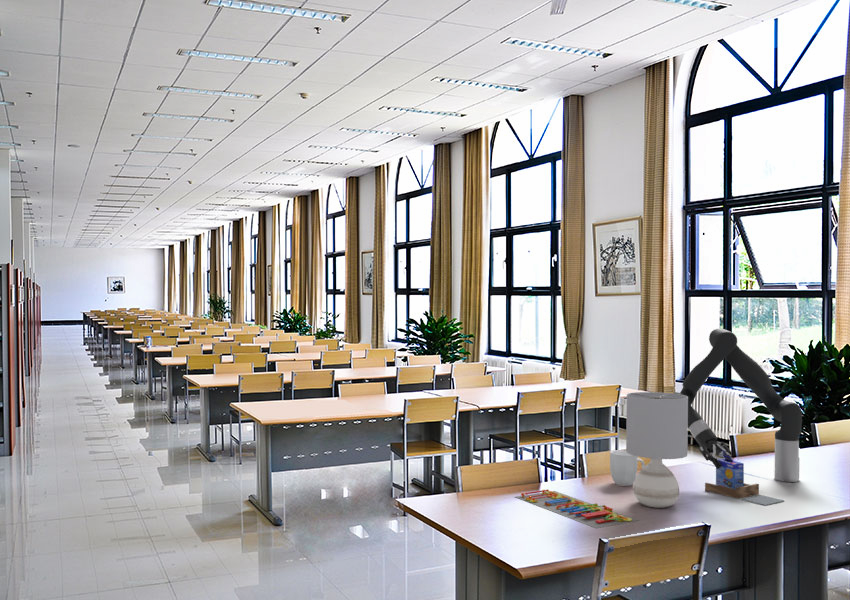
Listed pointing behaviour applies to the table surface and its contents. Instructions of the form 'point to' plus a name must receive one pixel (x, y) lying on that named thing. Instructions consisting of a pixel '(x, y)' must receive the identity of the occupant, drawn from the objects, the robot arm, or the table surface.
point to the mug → (623, 467)
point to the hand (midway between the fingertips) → (726, 466)
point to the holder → (734, 490)
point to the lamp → (656, 443)
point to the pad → (762, 500)
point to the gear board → (576, 509)
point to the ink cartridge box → (730, 473)
